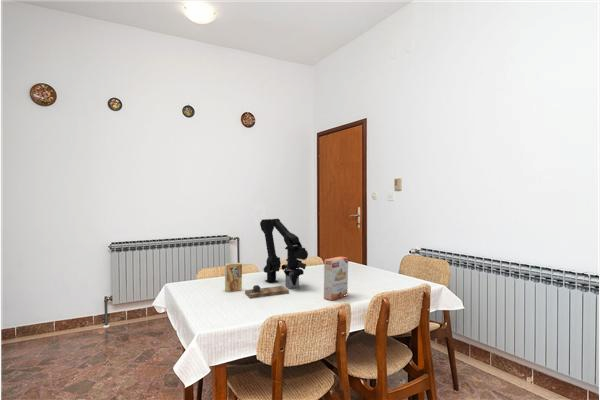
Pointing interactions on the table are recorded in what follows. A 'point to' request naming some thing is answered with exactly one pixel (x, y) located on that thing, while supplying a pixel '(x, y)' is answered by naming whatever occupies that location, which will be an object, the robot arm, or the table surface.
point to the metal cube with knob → (289, 282)
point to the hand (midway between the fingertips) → (292, 284)
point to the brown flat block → (266, 291)
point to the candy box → (233, 277)
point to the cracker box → (335, 277)
